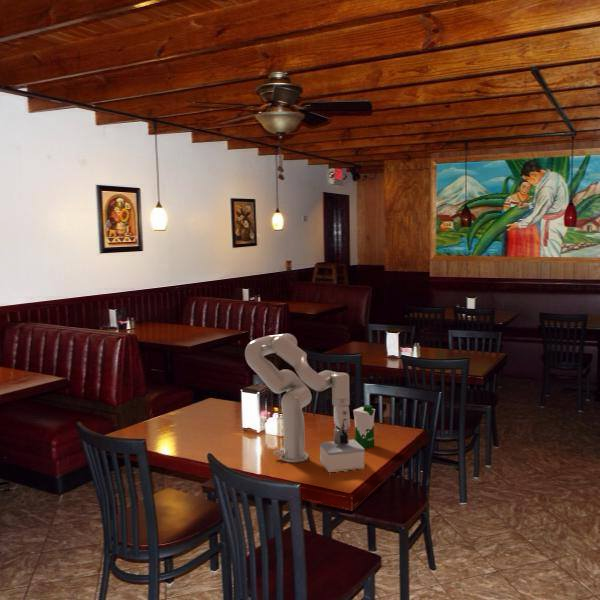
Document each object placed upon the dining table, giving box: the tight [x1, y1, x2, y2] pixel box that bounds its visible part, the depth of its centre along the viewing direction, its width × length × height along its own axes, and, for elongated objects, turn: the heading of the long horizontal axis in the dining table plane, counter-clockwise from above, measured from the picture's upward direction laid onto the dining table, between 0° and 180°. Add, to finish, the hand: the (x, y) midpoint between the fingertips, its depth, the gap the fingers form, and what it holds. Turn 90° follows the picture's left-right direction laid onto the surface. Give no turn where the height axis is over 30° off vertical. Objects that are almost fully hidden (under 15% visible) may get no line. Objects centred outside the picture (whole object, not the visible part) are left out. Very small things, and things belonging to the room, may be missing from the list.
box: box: [319, 445, 365, 474], centre depth 271 cm, size 16×14×8 cm
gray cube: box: [333, 426, 350, 445], centre depth 270 cm, size 6×6×6 cm
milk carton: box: [352, 404, 376, 450], centre depth 295 cm, size 9×9×20 cm
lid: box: [318, 438, 366, 455], centre depth 270 cm, size 16×14×1 cm
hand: (341, 440), depth 270 cm, fingers open, 6 cm apart
